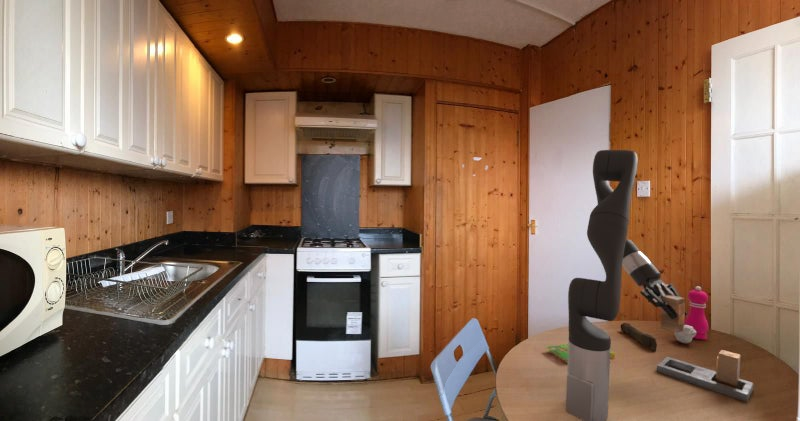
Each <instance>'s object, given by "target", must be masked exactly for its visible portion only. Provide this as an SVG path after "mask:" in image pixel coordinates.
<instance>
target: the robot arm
mask: <svg viewBox="0 0 800 421" xmlns="http://www.w3.org/2000/svg"><path fill="white" fill-rule="evenodd" d="M638 160H639V159H638V154H637V152H636V151H634V150H628V149H600V150H598V151H597V152H596V153H595V155H594V158H593V162H592V177H593V178H592V179H593V183H594V189H595V194H596V200H597V205H596V206H595V207H594V208H593V209H592V211H591V212H590V215H589V219H588V224H587V230H586V235H587V240H588V242H589V244H590V246H591V247H592V248H593V250H594V252H595V254H596V255H597V256H598V258H599V260H600V262H601V265H602V267H603V270H604V273H605V280H604V281H603V280H597V279H592V278H583V277H574V278H573V279H572V280H570V283H569V287H568V291H567V292H568V293H567V294H568V296H567V304H568V307H567V308H568V340H567V341H568V363H567V370H566V371H567V372H566V374H567V375H566V391H565V393H566V394H565V412H567V413H568V414H571V415H573V416H574V417H577V418H579V419H581V420H583V421H607V420H608V418H609V397H610V396H609V393H610V392H609V390H610V368H611V365H610V364H611V359H610V351H611V346H612V340H611V337H610V335H609V334H608V333H607V332H606V331H605V330H603V329H602V328H599V327H598V326H596V325H594V324H593V323H592V322H591V321H590V320H589V319H588V318H591V319H597V320H601V321H608V322H613V321H615V320H616V319H617V316H618V314H619V310H620V304H621V303H620V302H621V290H622V289H621V288H622V286H621V285H622V273H623V271H622V270H623V269H624V270H625V271H626V272H627V274H628V275H629V276H630V278H631V279H632V280H633V281H634V283H635V284H636V285H637V286H638V287H643V289H642V290H640V291H639V292H640V294H641V295H642V296H643V297H644V298H645V299H646V300H647V301H648V302H650V303H651V304H652V305H653V307H655V308H658V307H659V308H660V309H662V308H663V310H664V311H665V312H666V313H667V314H668V316H669V317H670V318H671V319H675V318H677V317H679V315H678V314H677V313H676V312H675V311H674V309H673V308H672V307H671V306H670V305H669V303H668V302H667V300H666V299H665V297H666V295H674V296H678V297H681V296H680V294H679V292H678V291H677V289H676V288H675V286H674V284H673V283H669V284H666V283H665V282H664V281H663V280H662V279H661V277H662V273H661V272H660V270H659V269H658V268H657V267H656V266H655V264H653V263H652V262H651V260H650V259H649V258H648V257H647V256H646V255H645V254H644V253H643V252H642V251H641V250H640V249H639V248H638V246H636V244H635V243H634V242H633V241H632V240H631V239H628V238H627V237H628V231H629V223H630V220H629V219H630V211H631V210H630V209H631V199H632V194H633V190H634V184H635V179H636V175H637V170H638V162H639V161H638ZM609 182H618V184H617V186H616V187H615V189H613V188H612V187H611V186H610V184H609ZM688 313H689V312H687V310H685V317H687V316H688V315H689V314H688Z"/></svg>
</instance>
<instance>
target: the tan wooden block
mask: <svg viewBox="0 0 800 421" xmlns="http://www.w3.org/2000/svg"><path fill="white" fill-rule="evenodd" d="M665 299H666V300H667V302H668V303H669V305H670V306H671V307H672V308H673V309H674V311H675V312H676V313H677V314H678V315H679V317H677V318H675V319H671V318H670V317H669V316H668V314H667V313H666V312H665V311H664V310H663V308H661V313H660V315H661V316H660V317H661V318H660V329H662V330H666V331H668V332H671V333H673V334H674V333H677V332H681V331H683V326H684V325H685V319H686V318H685V317H686V316H685V311H686V303H685V301H686V299H685V297H682V296H680V297H678V296H675V295H668V294H667V295H666V297H665Z"/></svg>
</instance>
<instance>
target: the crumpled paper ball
mask: <svg viewBox="0 0 800 421" xmlns="http://www.w3.org/2000/svg"><path fill="white" fill-rule="evenodd" d="M673 334H674V336H675V338H676V340H677V341H678V342H680V343H682V344H689V343H691V342H692V340H693V339H694V338H693V337H694V336H695V335H696V331H695V330H694V328H693V327H692V326H689V325H685V324H684V326H683V331H681V332H677V333H674V332H673Z"/></svg>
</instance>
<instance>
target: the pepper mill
mask: <svg viewBox="0 0 800 421" xmlns="http://www.w3.org/2000/svg"><path fill="white" fill-rule="evenodd" d="M687 298H688V300H689V303H688V304H689V306H690V311H689V312H688V313H689V314H688V315H687V316H686V318H685V319H684V325H689V326H692V327H693V328H694V330H695V331H696V335H695V336H694V337H693V338H692V339H696V340H707V338H708V337H707V333H706V332H708V331H709V327H710V326H709V322H708V320H707V317H706V315H705V308H707V304H706V302H708V301H709V296H708V294H707V293H706V292H705V291H702V287H701V286H698V285H697V286H695V289H692V290H690V291H689V292H688V294H687Z"/></svg>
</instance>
